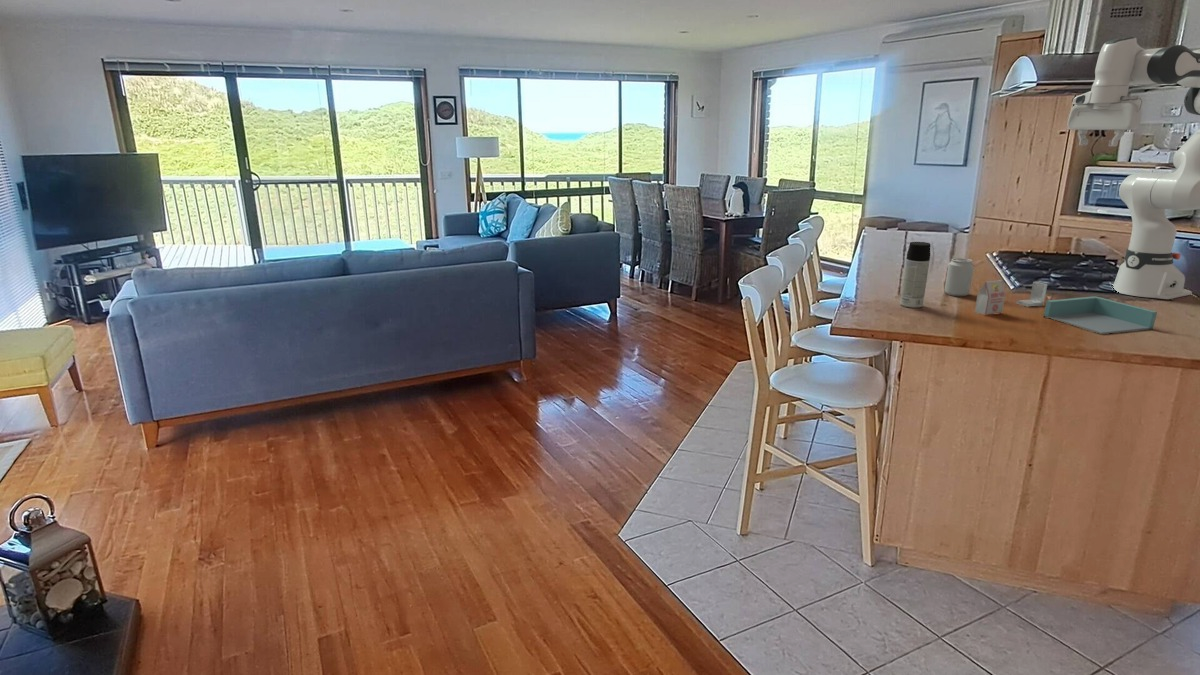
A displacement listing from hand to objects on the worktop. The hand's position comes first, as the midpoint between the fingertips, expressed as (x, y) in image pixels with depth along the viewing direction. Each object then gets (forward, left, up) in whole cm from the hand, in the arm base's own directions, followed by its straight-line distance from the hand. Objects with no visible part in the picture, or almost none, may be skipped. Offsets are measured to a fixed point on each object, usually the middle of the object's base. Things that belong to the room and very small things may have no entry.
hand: (1097, 145), depth 196 cm
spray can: (+51, -8, -48) cm, 71 cm away
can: (+27, -16, -48) cm, 58 cm away
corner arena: (+14, +23, -48) cm, 55 cm away
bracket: (+15, +2, -48) cm, 50 cm away
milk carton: (+35, +6, -48) cm, 60 cm away
